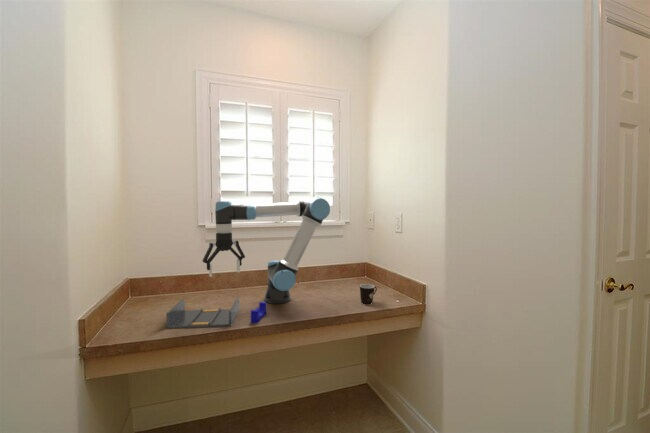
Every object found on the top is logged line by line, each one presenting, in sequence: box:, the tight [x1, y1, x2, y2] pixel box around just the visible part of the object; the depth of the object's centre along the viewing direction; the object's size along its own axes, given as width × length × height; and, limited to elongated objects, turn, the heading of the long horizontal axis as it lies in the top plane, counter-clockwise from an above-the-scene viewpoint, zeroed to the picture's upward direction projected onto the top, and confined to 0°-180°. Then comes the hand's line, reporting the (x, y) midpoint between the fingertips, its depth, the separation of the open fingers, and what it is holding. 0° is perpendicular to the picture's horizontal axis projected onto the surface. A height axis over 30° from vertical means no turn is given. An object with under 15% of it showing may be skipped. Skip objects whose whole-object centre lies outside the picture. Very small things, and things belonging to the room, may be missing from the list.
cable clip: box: [250, 301, 267, 324], centre depth 135 cm, size 12×4×6 cm, turn 171°
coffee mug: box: [359, 283, 378, 305], centre depth 158 cm, size 12×9×10 cm
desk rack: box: [165, 297, 240, 329], centre depth 133 cm, size 28×18×7 cm, turn 97°
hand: (224, 274), depth 138 cm, fingers open, 13 cm apart
